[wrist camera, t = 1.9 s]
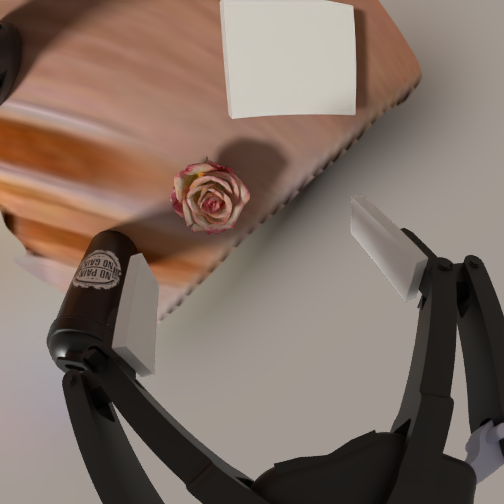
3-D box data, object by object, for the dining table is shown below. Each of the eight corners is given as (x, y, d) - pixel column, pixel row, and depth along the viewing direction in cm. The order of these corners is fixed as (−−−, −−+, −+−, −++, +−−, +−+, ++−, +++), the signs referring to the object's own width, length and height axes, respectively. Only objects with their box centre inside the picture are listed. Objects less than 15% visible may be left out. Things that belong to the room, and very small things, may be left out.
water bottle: (142, 228, 38) (117, 363, 20) (142, 278, 44) (131, 404, 26) (82, 223, 36) (26, 347, 17) (89, 273, 41) (57, 392, 23)
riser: (228, 114, 31) (232, 118, 28) (219, 3, 22) (222, -6, 18) (340, 110, 33) (355, 115, 30) (338, 10, 23) (353, 6, 20)
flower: (252, 169, 37) (266, 192, 30) (219, 220, 40) (225, 251, 34) (190, 137, 32) (189, 153, 26) (160, 194, 36) (153, 222, 30)
